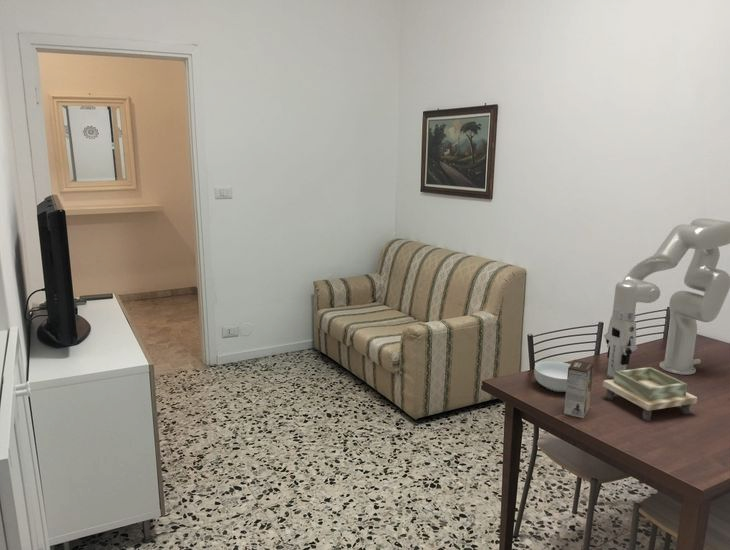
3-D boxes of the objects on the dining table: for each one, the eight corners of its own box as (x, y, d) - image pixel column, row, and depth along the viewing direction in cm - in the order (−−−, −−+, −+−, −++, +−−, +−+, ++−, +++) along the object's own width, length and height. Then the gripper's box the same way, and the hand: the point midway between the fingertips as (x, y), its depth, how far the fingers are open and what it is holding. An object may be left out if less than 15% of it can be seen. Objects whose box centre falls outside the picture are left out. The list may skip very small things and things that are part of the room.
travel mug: (621, 374, 214) (626, 324, 210) (627, 380, 208) (633, 329, 204) (604, 373, 215) (609, 323, 211) (610, 380, 209) (615, 329, 205)
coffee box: (569, 403, 188) (574, 358, 185) (589, 408, 185) (594, 362, 181) (563, 414, 180) (567, 367, 177) (583, 419, 177) (589, 371, 174)
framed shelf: (646, 390, 200) (650, 364, 198) (694, 414, 181) (699, 385, 179) (601, 396, 194) (604, 369, 192) (646, 422, 175) (650, 393, 173)
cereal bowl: (548, 399, 191) (550, 380, 190) (524, 380, 207) (525, 362, 206) (592, 395, 195) (594, 376, 194) (565, 377, 211) (566, 359, 209)
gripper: (649, 321, 199) (643, 368, 203) (614, 308, 215) (609, 352, 219) (633, 322, 197) (627, 370, 201) (598, 309, 213) (593, 354, 217)
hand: (617, 360), depth 210 cm, fingers closed on travel mug, 6 cm apart
